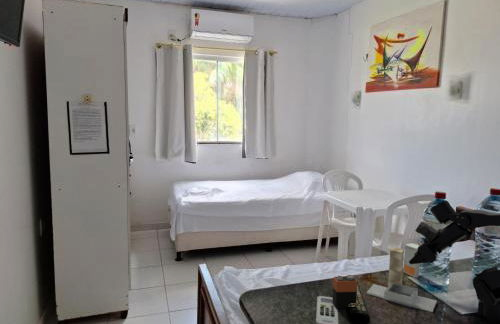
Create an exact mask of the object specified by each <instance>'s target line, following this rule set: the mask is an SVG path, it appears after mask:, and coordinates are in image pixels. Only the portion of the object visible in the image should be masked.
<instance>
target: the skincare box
mask: <svg viewBox="0 0 500 324" xmlns="http://www.w3.org/2000/svg"><path fill="white" fill-rule="evenodd" d="M419 246H420V244H419V245H418V244H415V243H406V244H404V262H403V273H405V274H406V275H408V276H411V277H413V278H414V277H416V278H419V277H418V274H419V267H420V263H418V264H410V263H409V261H410V260H411V259H412V258H413V257H414V256H415V255H414V254H415V253H416V252H417V251H418V249H417V248H418V247H419Z"/></svg>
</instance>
